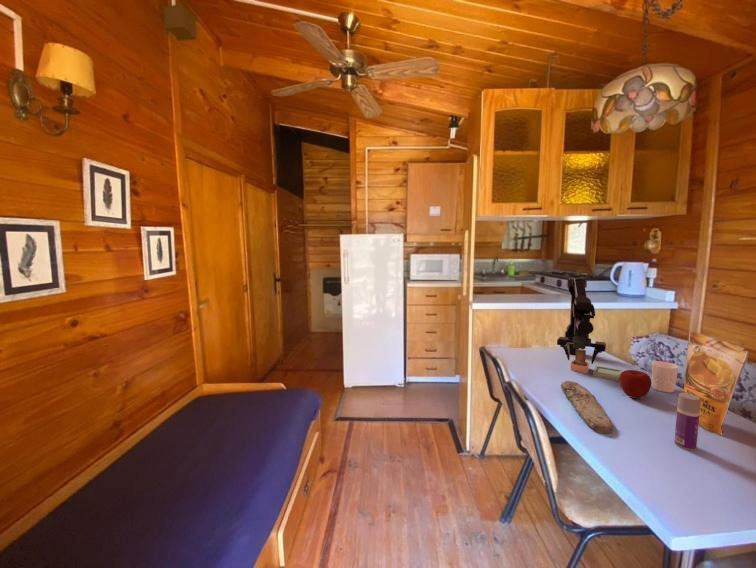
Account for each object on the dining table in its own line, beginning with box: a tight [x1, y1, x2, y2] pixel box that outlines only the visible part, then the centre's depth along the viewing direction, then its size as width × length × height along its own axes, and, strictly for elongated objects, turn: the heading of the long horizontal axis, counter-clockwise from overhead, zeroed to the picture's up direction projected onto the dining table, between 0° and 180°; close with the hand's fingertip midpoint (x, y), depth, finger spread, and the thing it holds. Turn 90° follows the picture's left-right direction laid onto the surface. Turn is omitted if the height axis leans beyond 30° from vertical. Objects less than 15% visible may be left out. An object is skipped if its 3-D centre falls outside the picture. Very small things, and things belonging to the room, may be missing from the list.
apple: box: [619, 369, 652, 399], centre depth 127 cm, size 10×10×10 cm
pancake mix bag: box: [683, 331, 749, 436], centre depth 107 cm, size 7×19×28 cm, turn 172°
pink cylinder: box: [651, 360, 679, 393], centre depth 132 cm, size 8×8×10 cm
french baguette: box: [560, 380, 613, 435], centre depth 120 cm, size 35×5×10 cm
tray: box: [592, 365, 623, 382], centre depth 147 cm, size 12×10×2 cm
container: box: [673, 392, 700, 451], centre depth 96 cm, size 5×5×15 cm
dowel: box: [574, 349, 587, 366], centre depth 153 cm, size 4×4×9 cm
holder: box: [569, 359, 591, 374], centre depth 154 cm, size 7×7×4 cm
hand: (580, 361), depth 153 cm, fingers open, 9 cm apart
